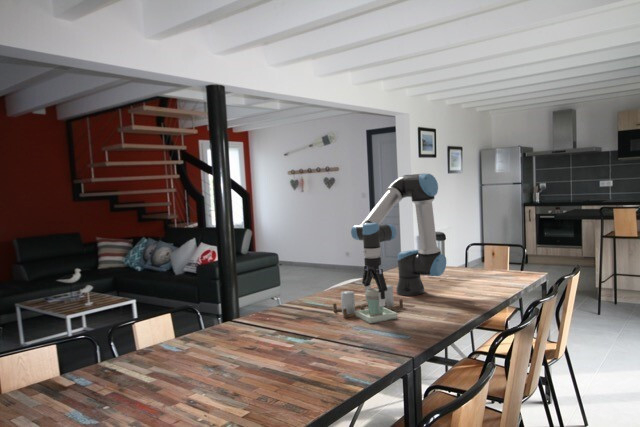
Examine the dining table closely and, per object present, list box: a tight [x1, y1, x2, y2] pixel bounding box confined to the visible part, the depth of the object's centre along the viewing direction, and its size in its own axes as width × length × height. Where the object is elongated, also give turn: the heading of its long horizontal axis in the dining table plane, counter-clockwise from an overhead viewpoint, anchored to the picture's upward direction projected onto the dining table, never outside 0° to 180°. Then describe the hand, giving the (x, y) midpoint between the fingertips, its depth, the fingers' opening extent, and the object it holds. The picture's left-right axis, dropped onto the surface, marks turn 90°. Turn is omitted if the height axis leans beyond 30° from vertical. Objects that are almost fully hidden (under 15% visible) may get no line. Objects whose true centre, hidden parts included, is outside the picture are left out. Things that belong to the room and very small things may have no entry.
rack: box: [332, 298, 404, 319], centre depth 234 cm, size 32×14×4 cm, turn 111°
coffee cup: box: [366, 287, 383, 317], centre depth 219 cm, size 9×9×12 cm
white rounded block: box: [385, 284, 395, 308], centre depth 237 cm, size 6×6×10 cm
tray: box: [355, 307, 398, 324], centre depth 220 cm, size 14×14×2 cm
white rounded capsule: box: [340, 290, 356, 315], centre depth 230 cm, size 6×6×10 cm
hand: (375, 302), depth 219 cm, fingers open, 13 cm apart
